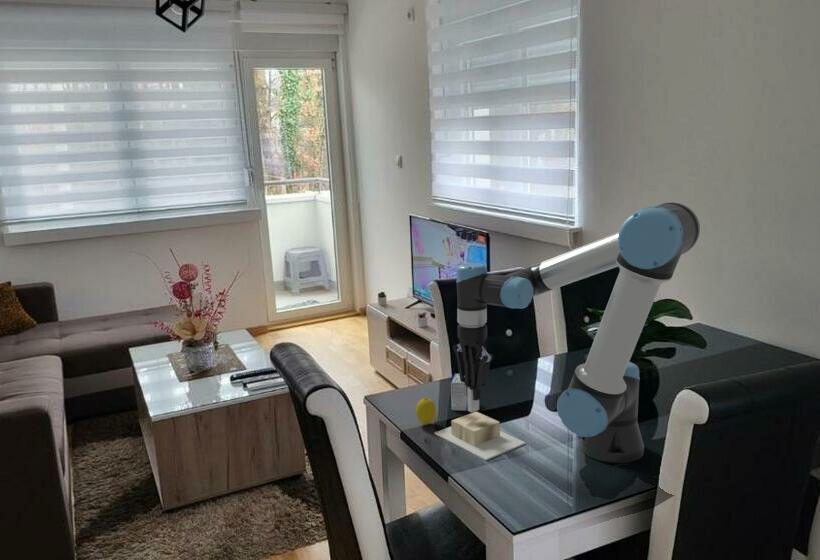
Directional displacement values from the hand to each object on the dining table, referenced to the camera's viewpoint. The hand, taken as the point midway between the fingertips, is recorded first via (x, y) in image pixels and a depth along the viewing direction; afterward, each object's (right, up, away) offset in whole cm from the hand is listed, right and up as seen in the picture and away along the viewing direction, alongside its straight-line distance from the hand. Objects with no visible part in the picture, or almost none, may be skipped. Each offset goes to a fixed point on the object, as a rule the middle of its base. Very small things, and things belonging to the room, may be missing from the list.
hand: (473, 410), depth 174 cm
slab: (+3, -6, -3) cm, 7 cm away
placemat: (+1, -8, 0) cm, 8 cm away
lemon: (-12, -6, +10) cm, 17 cm away
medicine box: (-2, -3, +22) cm, 22 cm away
